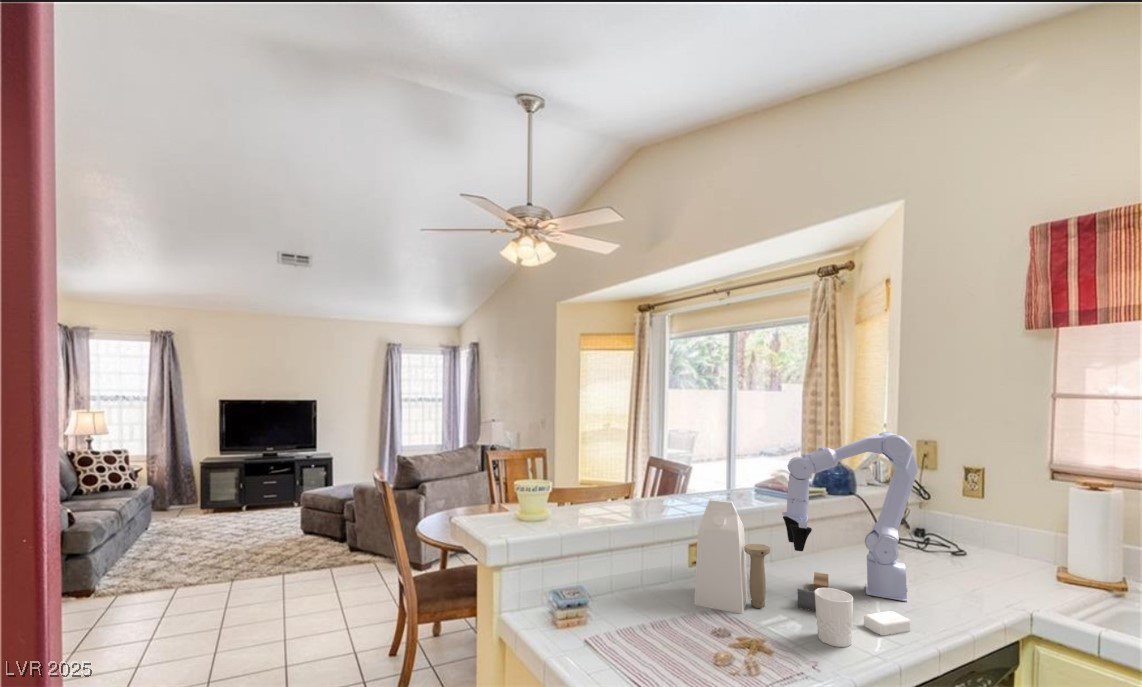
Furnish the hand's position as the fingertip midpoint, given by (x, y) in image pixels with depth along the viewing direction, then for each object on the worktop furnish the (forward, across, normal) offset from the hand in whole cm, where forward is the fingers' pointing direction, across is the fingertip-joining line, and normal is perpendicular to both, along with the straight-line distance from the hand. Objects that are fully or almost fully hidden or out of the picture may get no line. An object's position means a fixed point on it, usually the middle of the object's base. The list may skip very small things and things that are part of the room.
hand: (795, 546), depth 152 cm
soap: (+10, +25, +15) cm, 31 cm away
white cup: (+10, +34, +1) cm, 35 cm away
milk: (+12, +17, -22) cm, 30 cm away
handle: (+11, +19, -13) cm, 25 cm away
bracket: (+10, +15, +3) cm, 19 cm away
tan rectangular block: (+10, +5, +6) cm, 13 cm away
